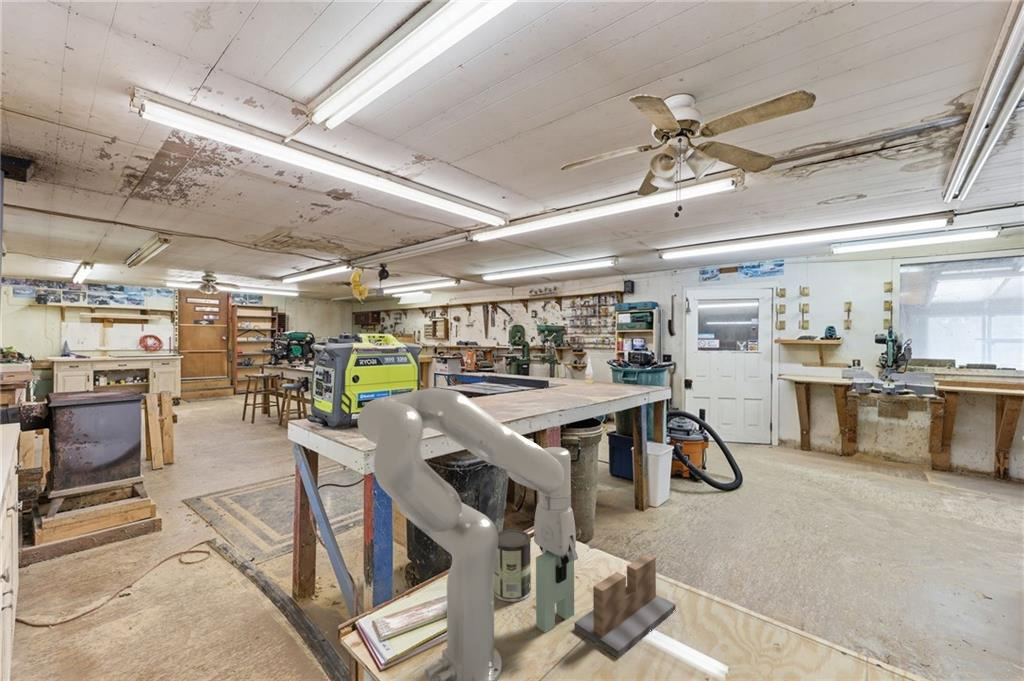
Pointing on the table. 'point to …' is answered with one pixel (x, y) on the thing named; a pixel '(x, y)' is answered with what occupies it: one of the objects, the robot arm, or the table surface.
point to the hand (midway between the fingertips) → (555, 577)
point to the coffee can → (512, 566)
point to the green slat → (552, 592)
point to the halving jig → (625, 608)
